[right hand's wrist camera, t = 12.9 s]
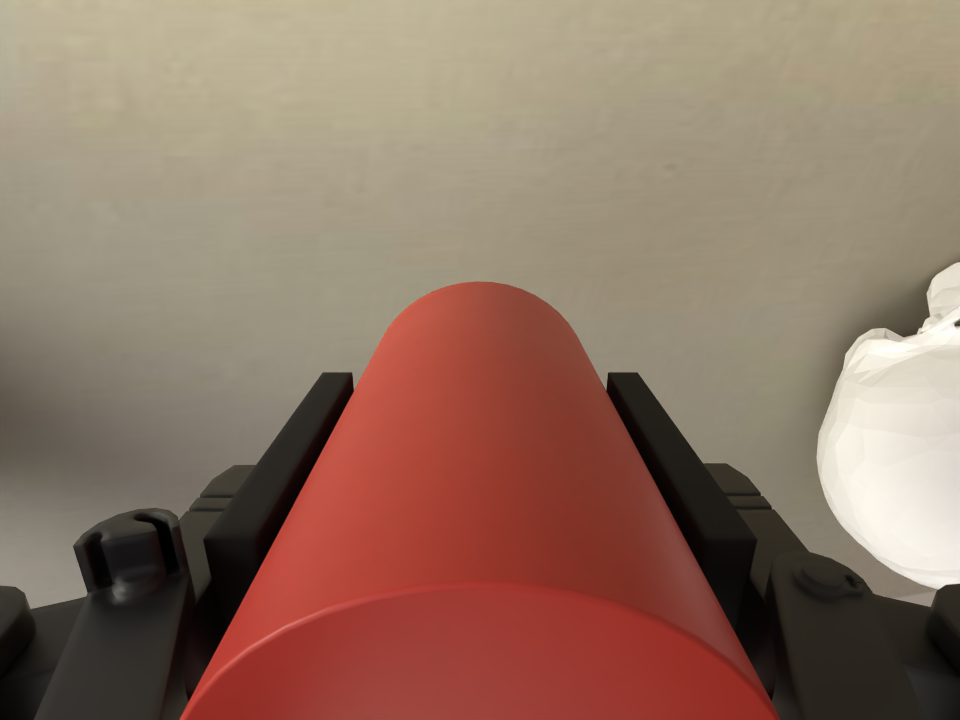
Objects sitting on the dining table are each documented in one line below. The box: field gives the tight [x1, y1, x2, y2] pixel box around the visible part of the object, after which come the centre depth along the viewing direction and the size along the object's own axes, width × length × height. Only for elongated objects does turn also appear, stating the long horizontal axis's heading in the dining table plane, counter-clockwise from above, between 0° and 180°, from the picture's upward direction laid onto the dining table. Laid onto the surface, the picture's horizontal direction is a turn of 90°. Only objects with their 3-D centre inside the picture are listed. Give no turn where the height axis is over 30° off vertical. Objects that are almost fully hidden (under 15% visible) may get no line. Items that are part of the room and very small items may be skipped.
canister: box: [179, 282, 781, 720], centre depth 11 cm, size 7×7×12 cm
